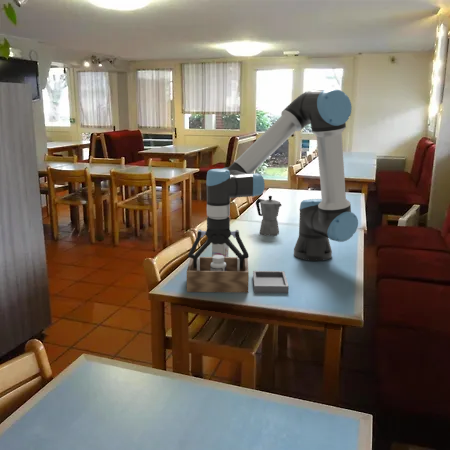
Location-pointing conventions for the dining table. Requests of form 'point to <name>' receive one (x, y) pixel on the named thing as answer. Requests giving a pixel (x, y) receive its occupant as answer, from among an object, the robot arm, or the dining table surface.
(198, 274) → the caddy
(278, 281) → the tray
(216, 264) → the pill bottle
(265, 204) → the coffeepot
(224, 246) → the ink box
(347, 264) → the dining table surface
